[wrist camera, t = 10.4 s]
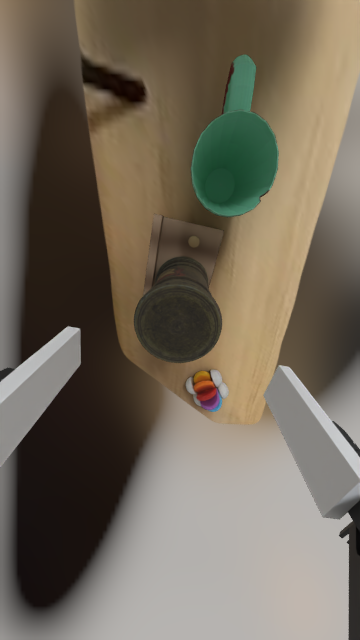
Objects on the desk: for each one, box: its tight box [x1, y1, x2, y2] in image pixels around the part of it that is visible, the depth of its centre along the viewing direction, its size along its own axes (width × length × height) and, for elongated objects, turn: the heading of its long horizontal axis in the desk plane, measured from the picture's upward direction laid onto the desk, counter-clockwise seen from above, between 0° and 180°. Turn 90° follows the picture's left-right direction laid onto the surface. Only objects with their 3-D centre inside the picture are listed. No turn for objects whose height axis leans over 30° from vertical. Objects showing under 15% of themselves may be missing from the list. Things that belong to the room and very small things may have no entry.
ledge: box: [143, 214, 224, 296], centre depth 34 cm, size 19×11×6 cm, turn 168°
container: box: [134, 256, 222, 363], centre depth 26 cm, size 9×9×18 cm
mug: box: [191, 54, 279, 217], centre depth 26 cm, size 15×10×10 cm
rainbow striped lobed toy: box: [186, 370, 229, 412], centre depth 45 cm, size 8×10×7 cm
